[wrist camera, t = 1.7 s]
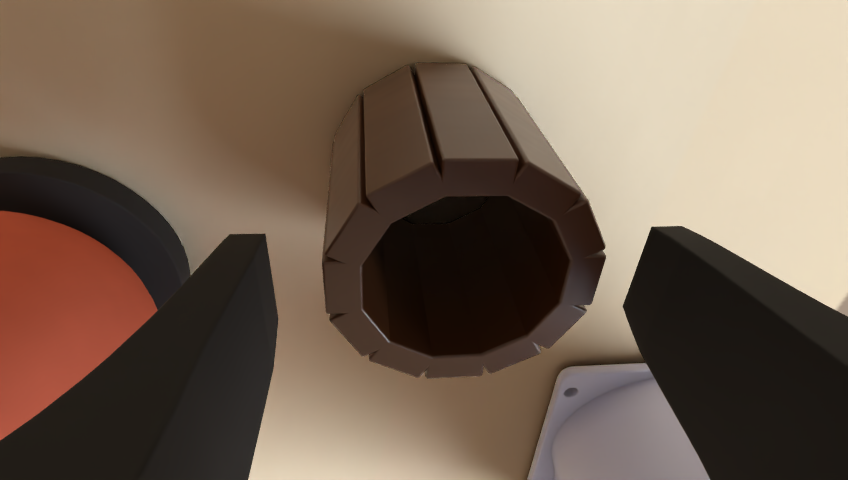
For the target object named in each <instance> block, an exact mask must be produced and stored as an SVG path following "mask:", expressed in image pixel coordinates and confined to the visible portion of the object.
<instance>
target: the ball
mask: <svg viewBox="0 0 848 480" xmlns="http://www.w3.org/2000/svg"><path fill="white" fill-rule="evenodd" d="M189 277H190V270H189V264H188V259H187V256H186V254H185V251H184V248H183V246H182V244H181V242H180V240H179V238H178V236H177V235H176V233H175V232H174V231H173V229H172V228H171V226H170V225H169V223H168V222H167V221H166V220H165V219H164V218H163V217H162V216H161V215H160V213H159V212H158V211H157V210H155V209H154V208H153V207H152V206H151V205H150V204H149V203H148V202H146V201H145V200H144V199H143V198H141V197H140V196H138V195H137V194H136V193H134V192H133V191H131V190H130V189H128V188H126V187H125V186H123V185H121V184H120V183H118V182H116V181H114V180H112V179H110V178H108V177H106V176H104V175H102V174H99V173H97V172H94V171H92V170H89V169H86V168H83V167H81V166H77V165H74V164H70V163H66V162H62V161H57V160H51V159H44V158H34V157H9V158H0V440H2V439H3V438H4V437H6V436H7V435H9V434H10V433H12V432H13V431H14V430H16V429H17V428H19V427H20V426H22V425H23V424H24V423H26V422H27V421H29V420H30V419H32V418H33V417H34V416H36V415H37V414H38V413H40V412H41V411H42V410H44V409H45V408H46V407H48V406H49V405H50V404H51V403H53V402H54V401H55V400H56V399H58V398H59V397H60V396H61V395H63V394H64V393H65V392H67V391H68V390H69V389H70V388H72V387H73V386H74V385H75V384H77V383H78V382H79V381H80V380H82V379H83V378H84V377H85V376H87V375H88V374H89V373H90V372H91V371H93V370H94V369H95V368H96V367H97V366H98V365H100V364H101V363H102V362H103V361H104V360H105V359H106V358H108V357H109V356H110V355H111V354H112V353H113V352H114V351H115V350H116V349H117V348H118V347H120V346H121V345H122V344H123V343H124V342H125V341H126V340H127V339H128V338H129V337H130V336H131V335H132V334H134V333H135V332H136V331H137V330H138V329H139V328H140V327H141V326H142V325H143V324H144V323H145V322H146V321H147V320H148V319H149V318H150V317H152V316H153V315H154V314H155V313H156V312H157V310H158V309H159V308H160V307H161V306H162V305H163V304H164V303H165V302H166V301H167V300H168V299H169V298H170V297H171V296H172V295H173V294H174V293H175V292H176V291H177V290H178V289H179V288H180V287H181V286H182V285H183V284H184V283H185V282H186V281H187V279H188V278H189Z"/></svg>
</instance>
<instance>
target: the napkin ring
mask: <svg viewBox="0 0 848 480" xmlns="http://www.w3.org/2000/svg"><path fill="white" fill-rule="evenodd" d="M456 196H490V197H489V198H488V199H487V201H486V202H485V203H484V204H483V206H482V207H481V208H480V209H478V210H476V211H474V212H472V213H469V214H467V215H465V216H463V217H461V218H459V219H457V220H455V221H453V222H451V223H449V224H411V223H409V222H407V221H405V220H403V219H402V218H404V217H406V216H408V215H410V214H412V213H414V212H416V211H418V210H420V209H422V208H424V207H426V206H428V205H430V204H432V203H434V202H436V201H438V200H440V199H442V198H444V197H456ZM604 249H605V243H604V240H603V237H602V235H601V232H600V229H599V227H598V224H597V222H596V219H595V216H594V214H593V211H592V208H591V206H590V203H589V201H588V199H587V198H586V196H585V195H584V193H583V192H582V190H581V189H580V187H579V186H578V185H577V183H576V182H575V180H574V179H573V177H572V176H571V174H570V173H569V171H568V170H567V169H566V167H565V166H564V164H563V163H562V161H561V160H560V158H559V157H558V155H557V154H556V153H555V151H554V150H553V148H552V147H551V145H550V144H549V142H548V141H547V139H546V138H545V137H544V135H543V134H542V132H541V131H540V129H539V128H538V126H537V125H536V123H535V122H534V121H533V119H532V118H531V116H530V115H529V113H528V112H527V110H526V109H525V107H524V106H523V105H522V103H521V102H520V100H519V99H518V98H517V97H516V96H515V95H514V93H513V92H512V90H510V89H509V88H507V87H505V86H504V85H502V84H501V83H499V82H498V81H496V80H495V79H493V78H492V77H490V76H489V75H487V74H485V73H484V72H482V71H481V70H479V69H478V68H476V67H472V68H471V70H470V69H469V68H468V66H467V64H456V63H415V72H414V73H413V71H412V70H411V68H410V66H409V65H406V66H405V67H403V68H401V69H399V70H397V71H396V72H394V73H392V74H390V75H388V76H387V77H385V78H383V79H381V80H379V81H378V82H376V83H374V84H372V85H370V86H369V87H367V88H365V89H364V97H363V96H361V95H358V96H357V97H356V99H355V101H354V102H353V104H352V106H351V108H350V109H349V111H348V113H347V114H346V116H345V118H344V120H343V121H342V123H341V125H340V127H339V128H338V130H337V132H336V134H335V141H334V142H333V148H332V159H331V170H330V181H329V192H328V203H327V214H326V224H325V235H324V246H323V257H322V270H323V283H324V295H325V308H326V313H327V314H330V321H331V323H332V324H333V325H334V326H335V327H336V328H337V329H338V330H339V331H340V333H341V334H342V335H343V336H344V337H345V338H346V339H347V340H348V341H349V342H350V344H351V345H352V346H353V347H354V348H355V349H356V350H357V351H358V352H359V354H360V355H361V356H366V355H368V354H369V361H371V362H374V363H377V364H380V365H383V366H385V367H388V368H391V369H394V370H397V371H400V372H403V373H406V374H409V375H411V376H414V377H420V376H421V375H422V374H423V373H424V371H425V376H426V377H427V378H428V379H431V378H452V377H473V376H481V375H482V373H483V367H485V368H486V370H487V371H488V372H489V373H494V372H496V371H499V370H501V369H503V368H506V367H508V366H511V365H513V364H516V363H518V362H520V361H523V360H525V359H528V358H530V357H533V356H535V355H537V354H539V353H540V352H541V349H540V346H543V347H545V348H550V347H551V346H552V345H553V344H554V343H555V342H556V341H557V340H558V339H559V338H560V337H561V336H562V335H563V334H564V333H565V332H566V331H567V330H568V329H569V328H570V327H571V326H573V325H574V324H575V323H576V322H577V321H578V320H579V319H580V318H581V317H582V316H583V315H584V314H585V313H586V311H587V310H586V308H585V306H584V305H590V304H591V303H592V301H593V298H594V294H595V291H596V288H597V285H598V282H599V278H600V275H601V272H602V269H603V266H604V262H605V259H606V255H605V253H604V252H603V250H604ZM539 345H540V346H539Z"/></svg>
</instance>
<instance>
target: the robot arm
mask: <svg viewBox="0 0 848 480" xmlns="http://www.w3.org/2000/svg"><path fill="white" fill-rule="evenodd" d="M623 308H624V311H625V314H626V317H627V320H628V322H629V325H630V328H631V331H632V333H633V336H634V338H635V341H636V343H637V345H638V348H639V350H640V352H641V354H642V356H643V358H644V360H645V362H646V363H633V364H612V365H591V366H572V367H567V368H565V369H563V370H562V371H561V372H560V373H559V375H558V377H557V380H556V383H555V387H554V390H553V394H552V397H551V400H550V404H549V407H548V411H547V414H546V417H545V421H544V424H543V428H542V431H541V434H540V438H539V441H538V445H537V448H536V451H535V455H534V458H533V462H532V465H531V468H530V472H529V475H528V479H527V480H848V317H847V316H845V315H843V314H841V313H839V312H838V311H836V310H834V309H832V308H830V307H828V306H826V305H824V304H823V303H821V302H819V301H817V300H815V299H813V298H812V297H810V296H808V295H806V294H804V293H802V292H801V291H799V290H797V289H795V288H794V287H792V286H790V285H788V284H786V283H785V282H783V281H781V280H779V279H778V278H776V277H774V276H772V275H771V274H769V273H767V272H765V271H764V270H762V269H760V268H758V267H757V266H755V265H753V264H751V263H750V262H748V261H746V260H745V259H743V258H741V257H739V256H738V255H736V254H734V253H732V252H731V251H729V250H727V249H725V248H723V247H722V246H720V245H718V244H716V243H714V242H713V241H711V240H709V239H707V238H705V237H703V236H701V235H699V234H697V233H695V232H693V231H691V230H689V229H687V228H685V227H682V226H667V227H651V230H650V233H649V235H648V238H647V241H646V244H645V246H644V249H643V252H642V255H641V257H640V260H639V263H638V266H637V269H636V271H635V274H634V277H633V280H632V282H631V285H630V288H629V291H628V293H627V296H626V299H625V302H624V304H623ZM277 327H278V314H277V307H276V301H275V294H274V287H273V281H272V274H271V268H270V261H269V255H268V248H267V242H266V235H265V234H230V235H229V236H228V237H227V238H226V239H225V240H224V241H223V242H222V243H221V244H220V245H219V246H218V247H217V248H216V249H215V250H214V251H213V252H212V253H211V254H210V256H209V257H208V258H207V259H206V260H205V261H204V262H203V263H202V264H201V265H200V267H199V268H198V269H197V270H196V271H195V272H194V273H193V274H192V275H191V276H190V277H189V278H188V279H187V281H186V282H185V283H184V284H183V285H182V286H181V287H180V288H179V289H178V290H177V291H176V292H175V293H174V294H173V295H172V296H171V297H170V298H169V299H168V300H167V301H166V302H165V303H164V304H163V305H162V306H161V307H160V308H159V309H158V310H157V312H156V313H155V314H154V315H153V316H152V317H150V318H149V319H148V320H147V321H146V322H145V323H144V324H143V325H142V326H141V327H140V328H139V329H138V330H137V331H136V332H135V333H134V334H132V335H131V336H130V337H129V338H128V339H127V340H126V341H125V342H124V343H123V344H122V345H121V346H120V347H118V348H117V349H116V350H115V351H114V352H113V353H112V354H111V355H110V356H109V357H108V358H106V359H105V360H104V361H103V362H102V363H101V364H100V365H98V366H97V367H96V368H95V369H94V370H93V371H91V372H90V373H89V374H88V375H87V376H85V377H84V378H83V379H82V380H80V381H79V382H78V383H77V384H75V385H74V386H73V387H72V388H70V389H69V390H68V391H67V392H65V393H64V394H63V395H61V396H60V397H59V398H58V399H56V400H55V401H54V402H53V403H51V404H50V405H49V406H48V407H46V408H45V409H44V410H42V411H41V412H40V413H38V414H37V415H36V416H34V417H33V418H32V419H30V420H29V421H27V422H26V423H24V424H23V425H22V426H20V427H19V428H17V429H16V430H14V431H13V432H12V433H10V434H9V435H7V436H6V437H4V438H3V439H2V440H0V480H248V478H249V473H250V469H251V465H252V460H253V456H254V451H255V447H256V443H257V438H258V434H259V430H260V425H261V421H262V417H263V412H264V408H265V404H266V399H267V395H268V390H269V386H270V381H271V377H272V372H273V367H274V357H275V348H276V338H277Z"/></svg>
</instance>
